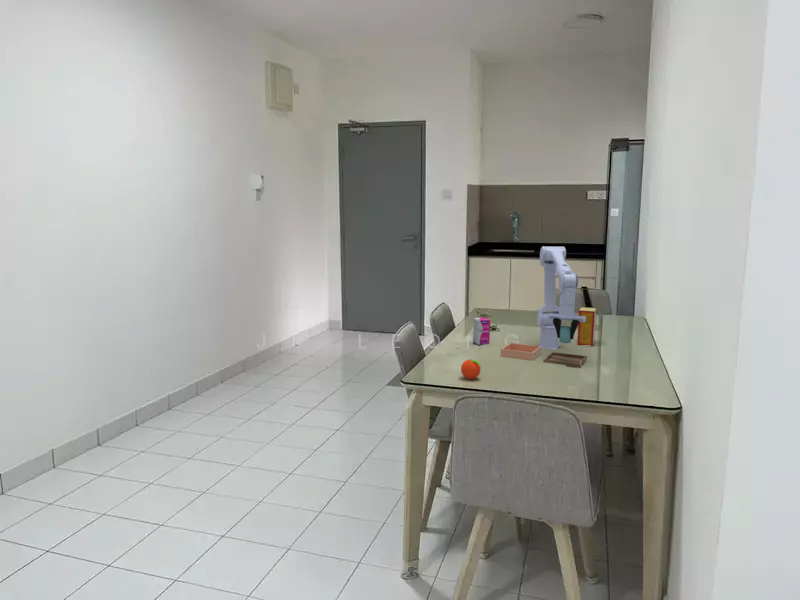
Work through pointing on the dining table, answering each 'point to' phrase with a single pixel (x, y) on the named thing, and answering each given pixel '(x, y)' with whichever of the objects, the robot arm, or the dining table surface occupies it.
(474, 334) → the supplement box
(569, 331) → the teal cylinder
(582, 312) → the baking soda box
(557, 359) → the tray
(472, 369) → the clementine
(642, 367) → the dining table surface
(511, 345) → the pink storage bin
